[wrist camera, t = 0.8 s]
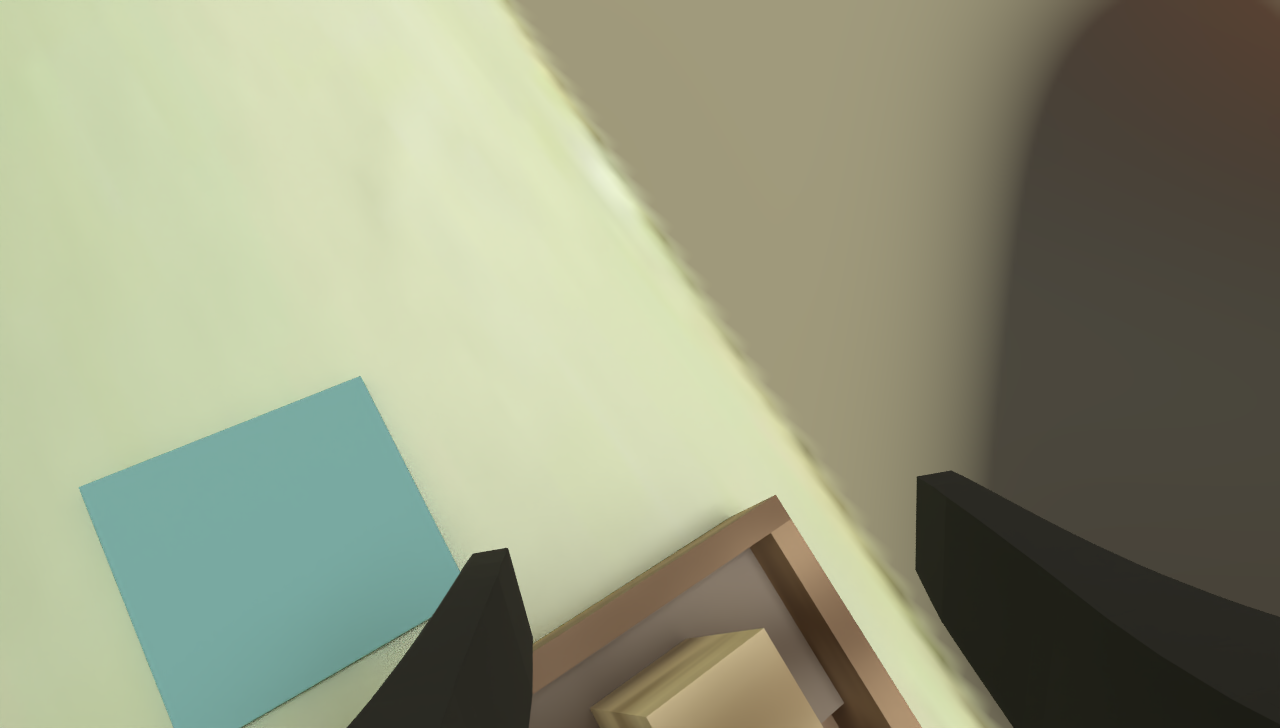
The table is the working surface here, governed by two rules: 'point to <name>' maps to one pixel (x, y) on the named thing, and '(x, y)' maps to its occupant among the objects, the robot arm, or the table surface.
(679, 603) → the walnut crate
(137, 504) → the teal mat
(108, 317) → the table surface
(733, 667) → the maple block
